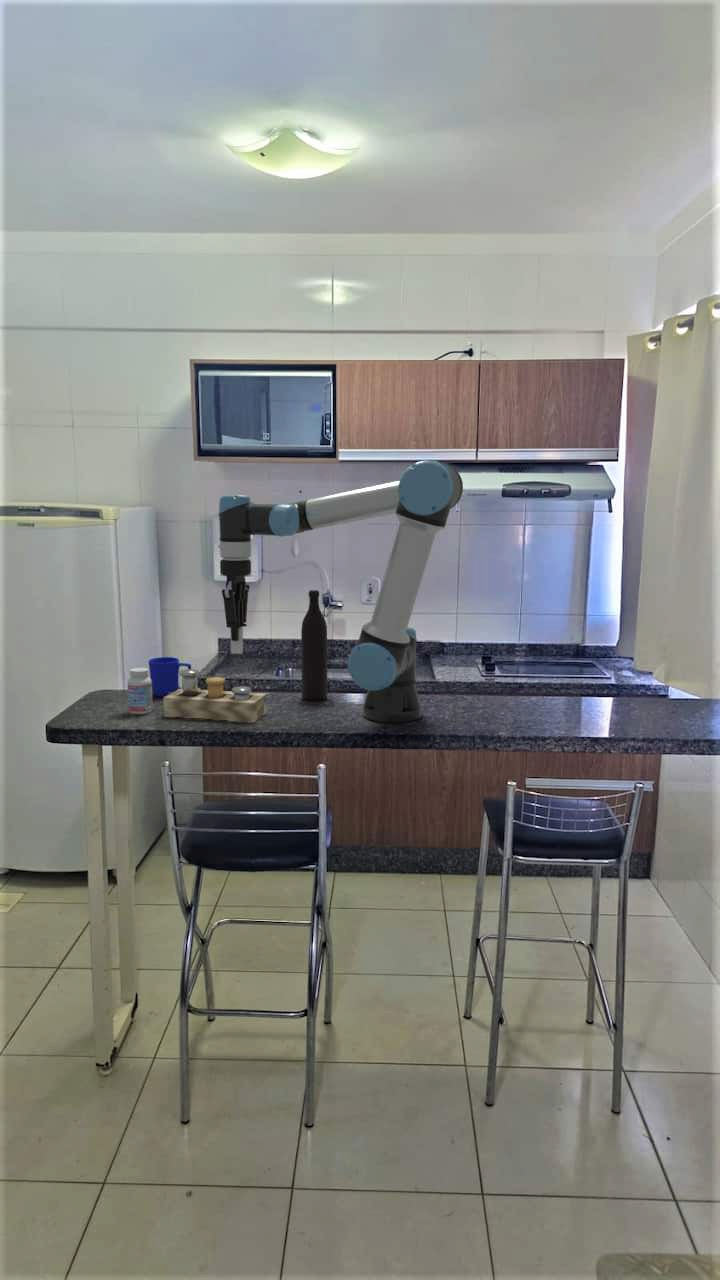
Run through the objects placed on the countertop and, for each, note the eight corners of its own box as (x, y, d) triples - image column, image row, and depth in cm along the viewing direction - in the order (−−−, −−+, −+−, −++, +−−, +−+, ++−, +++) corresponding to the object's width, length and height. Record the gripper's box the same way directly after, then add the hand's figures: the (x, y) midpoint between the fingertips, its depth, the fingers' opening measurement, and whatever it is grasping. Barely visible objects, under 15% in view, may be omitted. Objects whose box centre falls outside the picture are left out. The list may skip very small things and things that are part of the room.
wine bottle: (328, 695, 225) (327, 589, 219) (326, 701, 218) (326, 592, 212) (303, 694, 225) (302, 589, 220) (300, 701, 218) (299, 592, 213)
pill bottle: (124, 714, 205) (122, 671, 203) (136, 708, 210) (134, 666, 208) (145, 715, 203) (143, 672, 201) (157, 709, 209) (155, 667, 207)
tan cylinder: (228, 702, 206) (227, 677, 205) (221, 707, 201) (220, 682, 200) (210, 701, 207) (210, 676, 206) (203, 706, 202) (202, 680, 201)
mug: (185, 699, 219) (184, 664, 217) (144, 697, 221) (143, 662, 220) (197, 692, 227) (196, 658, 225) (158, 690, 229) (156, 656, 227)
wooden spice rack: (267, 712, 207) (266, 693, 206) (253, 722, 197) (253, 703, 196) (181, 706, 212) (180, 688, 211) (164, 716, 202) (163, 697, 201)
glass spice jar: (254, 711, 205) (253, 686, 204) (247, 716, 200) (247, 691, 199) (236, 710, 206) (235, 685, 205) (229, 715, 201) (228, 690, 200)
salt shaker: (202, 694, 207) (201, 669, 206) (195, 699, 202) (194, 673, 201) (185, 693, 208) (184, 668, 207) (177, 697, 203) (176, 672, 202)
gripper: (230, 556, 203) (232, 647, 207) (210, 560, 191) (212, 657, 195) (258, 557, 201) (259, 648, 206) (240, 561, 189) (241, 658, 193)
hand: (237, 652), depth 200 cm, fingers closed
